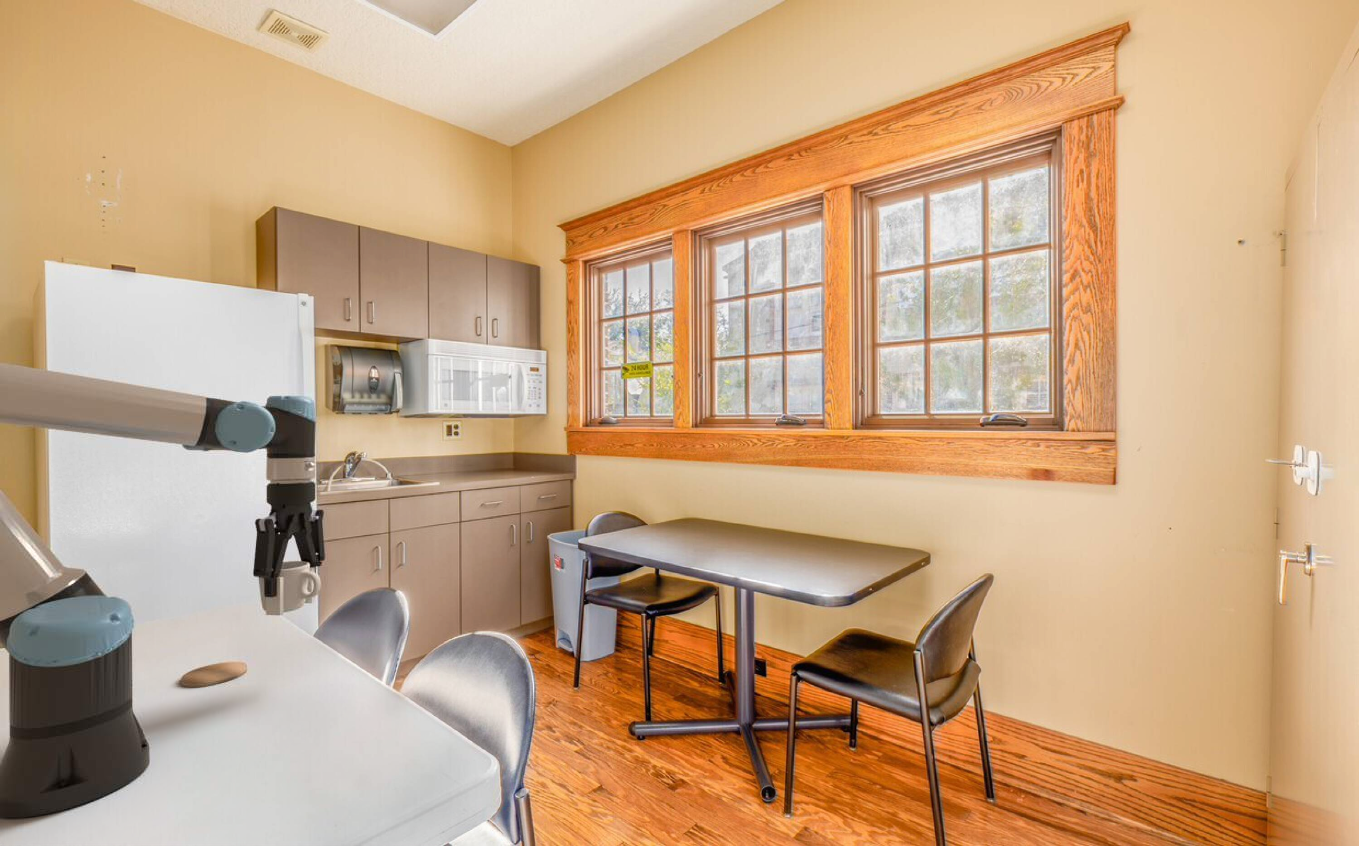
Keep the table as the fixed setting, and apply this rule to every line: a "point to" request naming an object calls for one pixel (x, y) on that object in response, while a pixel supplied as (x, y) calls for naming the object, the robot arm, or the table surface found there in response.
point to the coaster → (213, 674)
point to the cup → (294, 585)
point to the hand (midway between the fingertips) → (291, 608)
